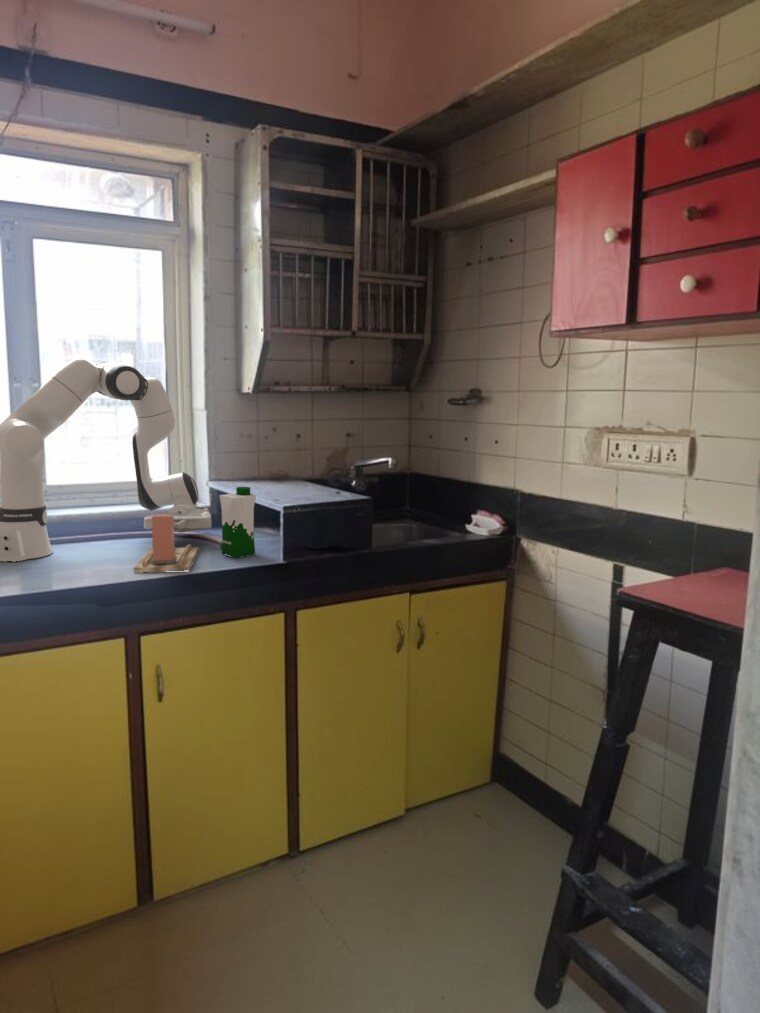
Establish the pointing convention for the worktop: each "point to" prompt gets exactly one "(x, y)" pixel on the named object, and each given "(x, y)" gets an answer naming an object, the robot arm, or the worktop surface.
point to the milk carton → (238, 522)
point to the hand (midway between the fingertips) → (175, 526)
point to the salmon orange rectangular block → (163, 539)
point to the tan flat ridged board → (182, 563)
